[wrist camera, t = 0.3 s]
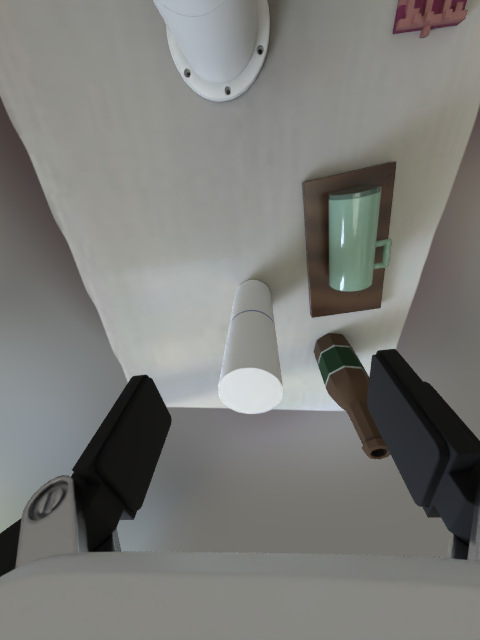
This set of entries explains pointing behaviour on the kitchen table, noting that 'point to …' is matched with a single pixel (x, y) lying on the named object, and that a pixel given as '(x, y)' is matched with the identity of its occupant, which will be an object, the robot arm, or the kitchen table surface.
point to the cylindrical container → (251, 353)
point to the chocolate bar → (428, 15)
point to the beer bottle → (349, 389)
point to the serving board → (317, 239)
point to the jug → (355, 237)
